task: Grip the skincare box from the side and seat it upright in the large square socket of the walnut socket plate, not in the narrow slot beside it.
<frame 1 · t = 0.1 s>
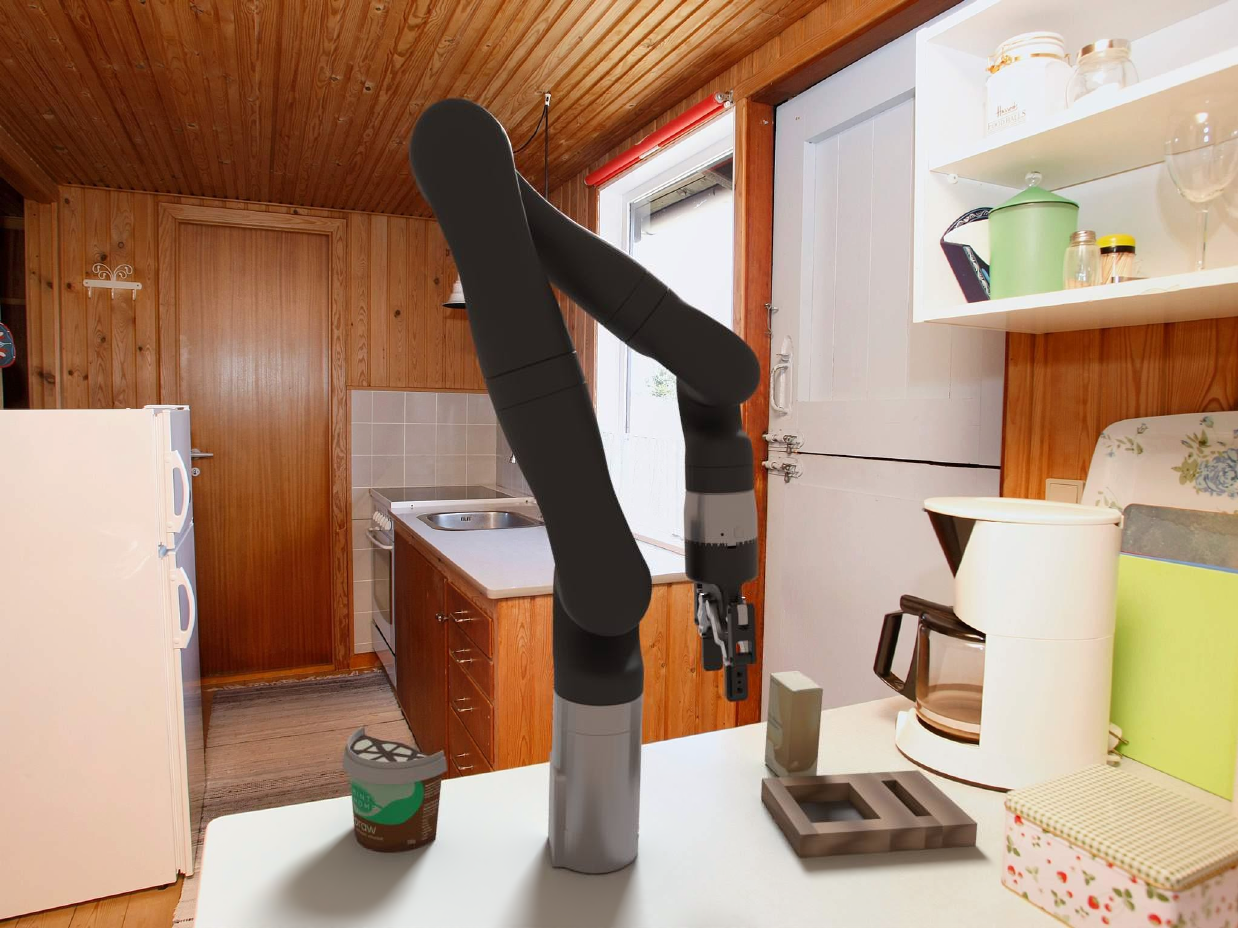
hand: (724, 684, 84), 17 cm above the countertop, tool pointing down, fingers open, 8 cm apart
food container: (381, 841, 84), on the countertop
socket plate: (863, 820, 90), on the countertop
skincare box: (790, 773, 101), on the countertop
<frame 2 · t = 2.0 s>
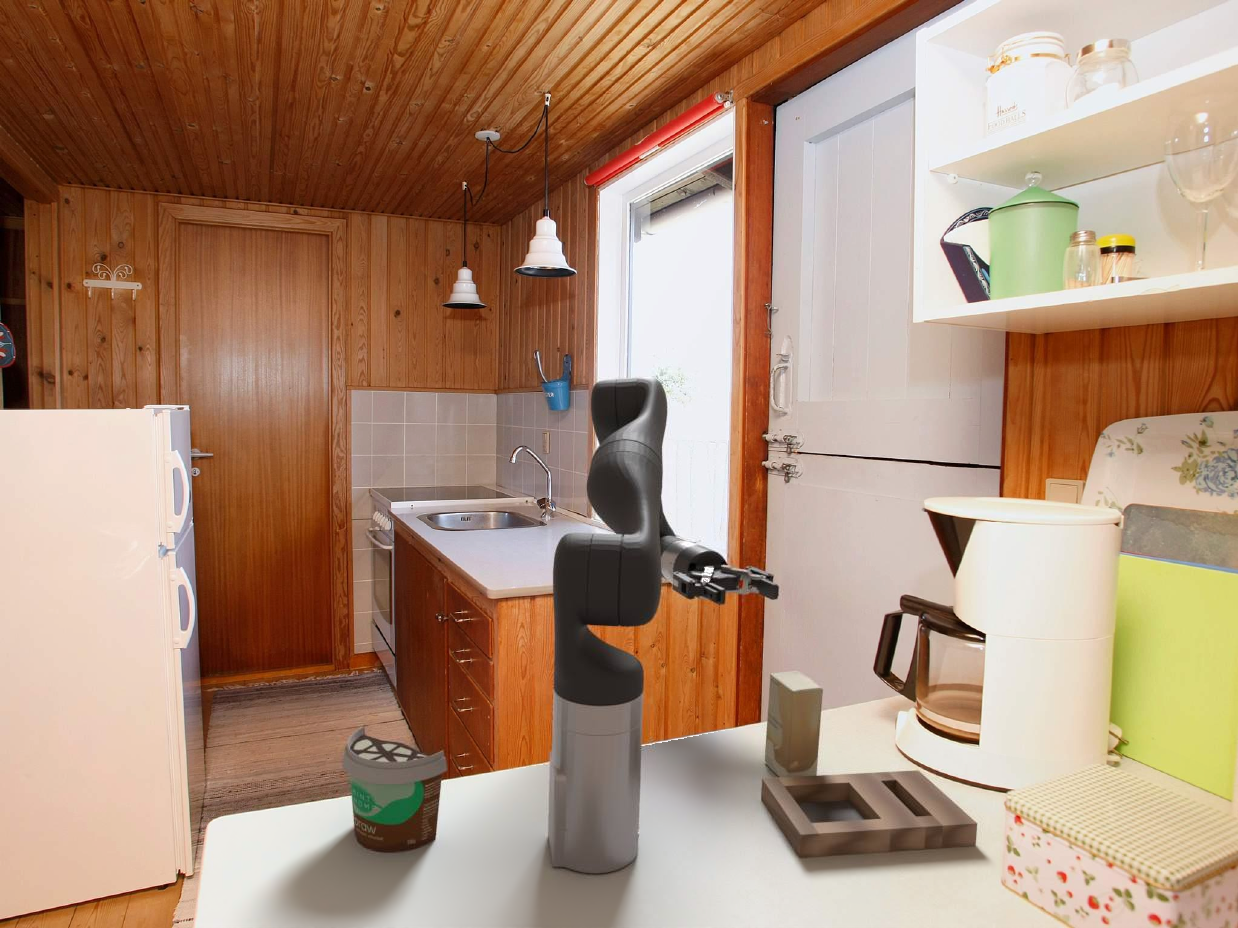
hand: (750, 595, 109), 20 cm above the countertop, tool horizontal, fingers open, 8 cm apart
nothing on the countertop moved.
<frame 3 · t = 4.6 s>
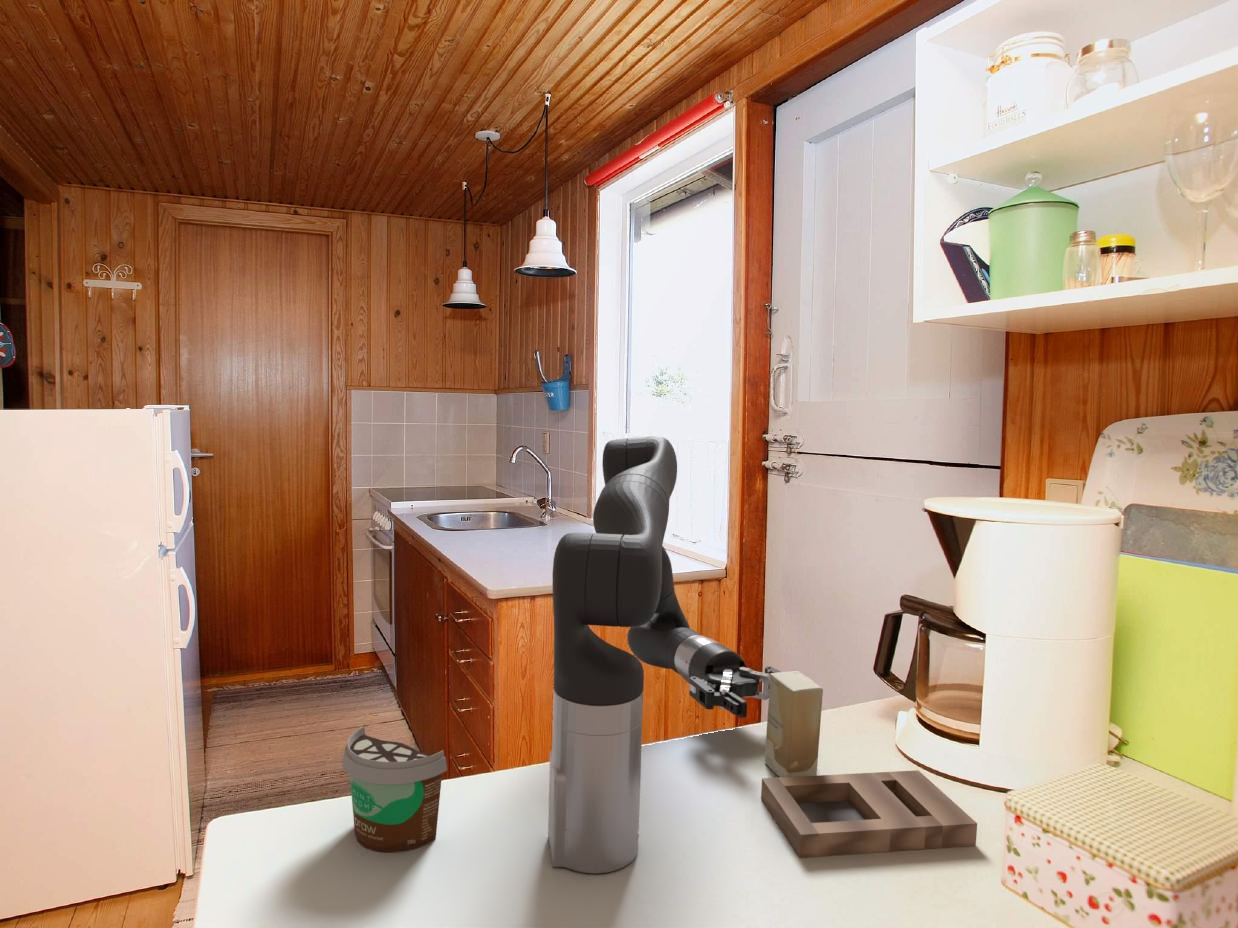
hand: (772, 706, 105), 7 cm above the countertop, tool horizontal, fingers open, 8 cm apart
nothing on the countertop moved.
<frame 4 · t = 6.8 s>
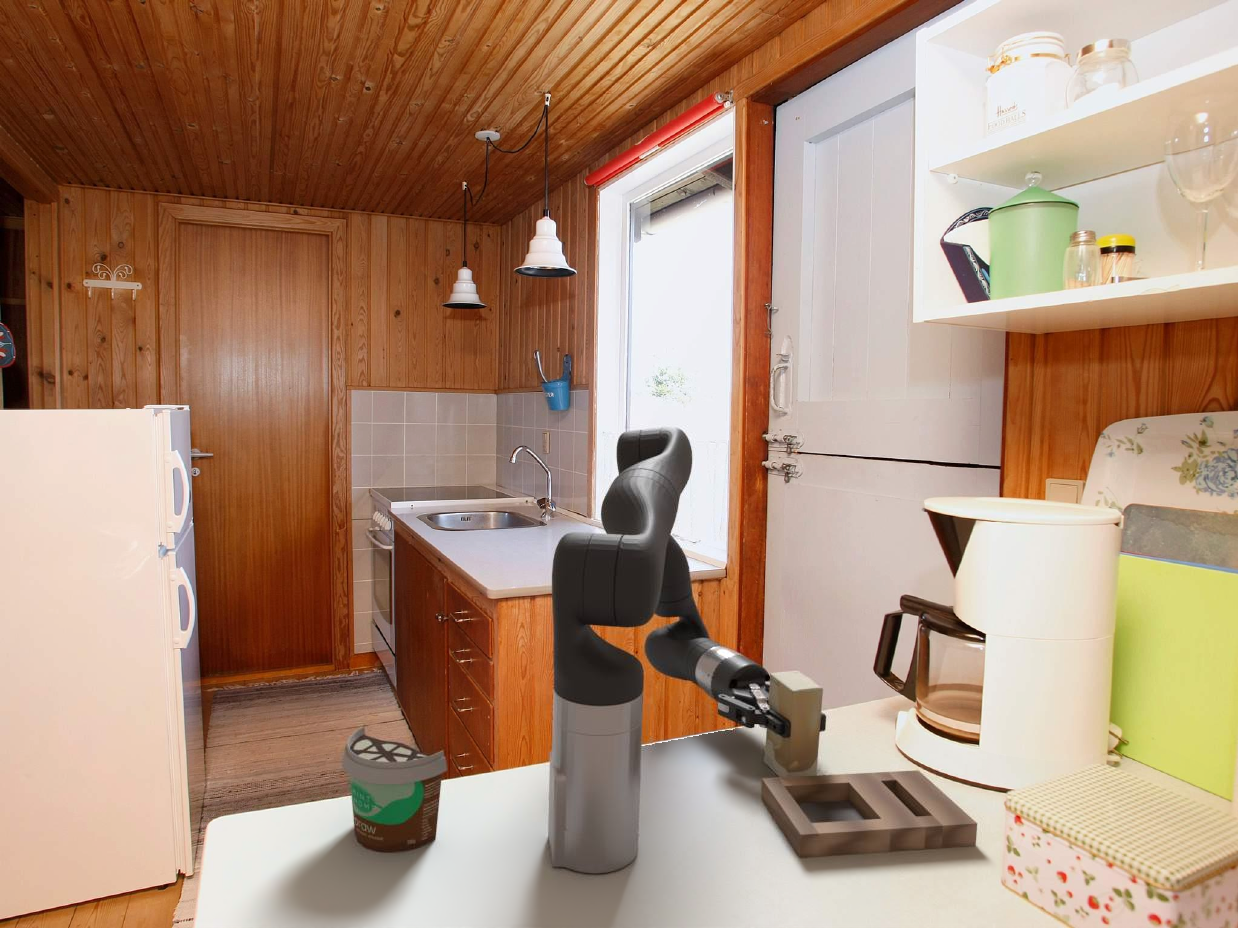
hand: (806, 726, 98), 7 cm above the countertop, tool horizontal, fingers closed on skincare box, 4 cm apart
skincare box: (790, 773, 101), on the countertop, touching gripper
everything else where it was.
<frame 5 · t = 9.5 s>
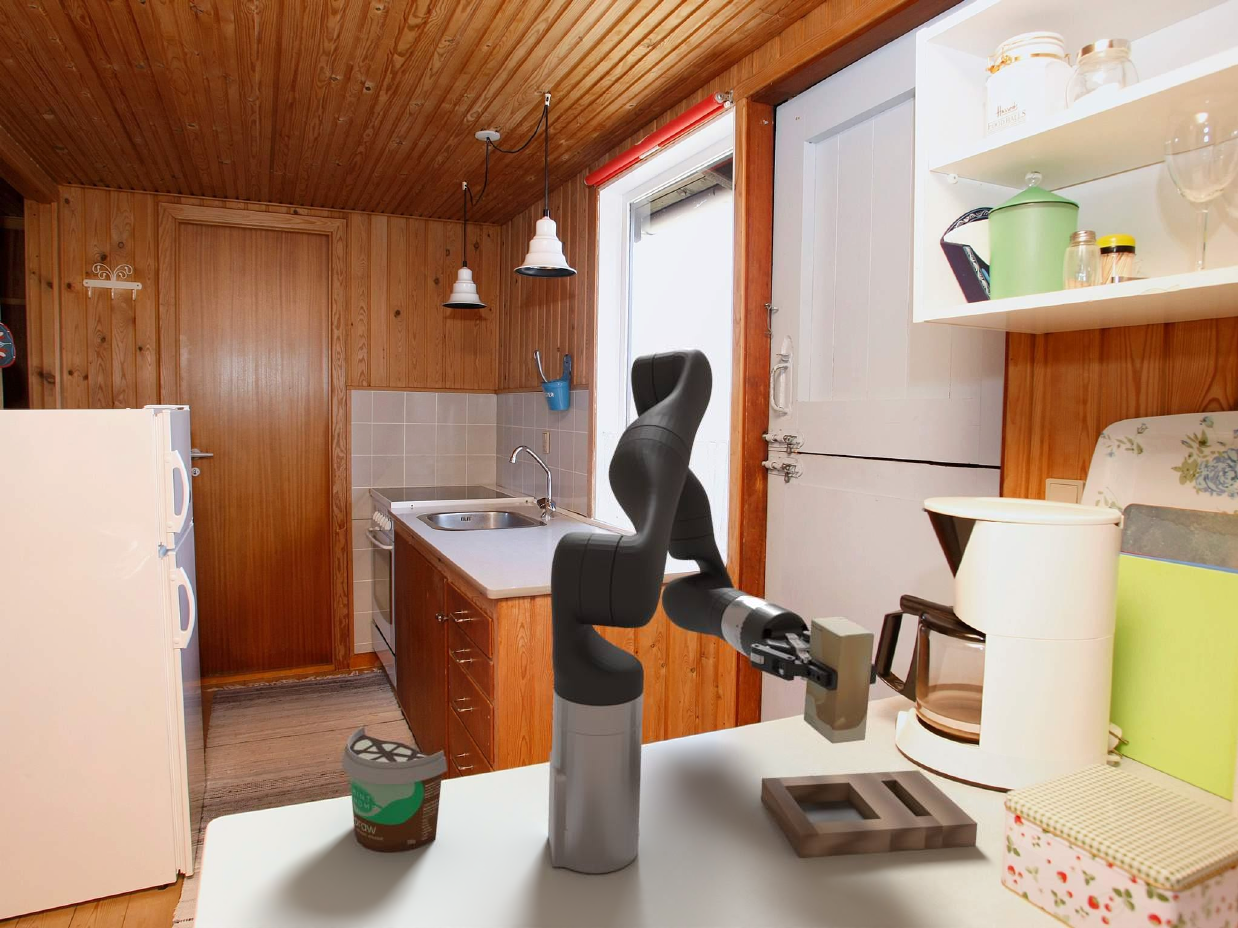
hand: (854, 678, 86), 18 cm above the countertop, tool horizontal, fingers closed on skincare box, 4 cm apart
skincare box: (834, 732, 89), point 10 cm above the countertop, touching gripper
everything else where it was.
when the fingers open (8 cm above the countertop, at t = 12.4 s): skincare box drops 1 cm, resting on socket plate.
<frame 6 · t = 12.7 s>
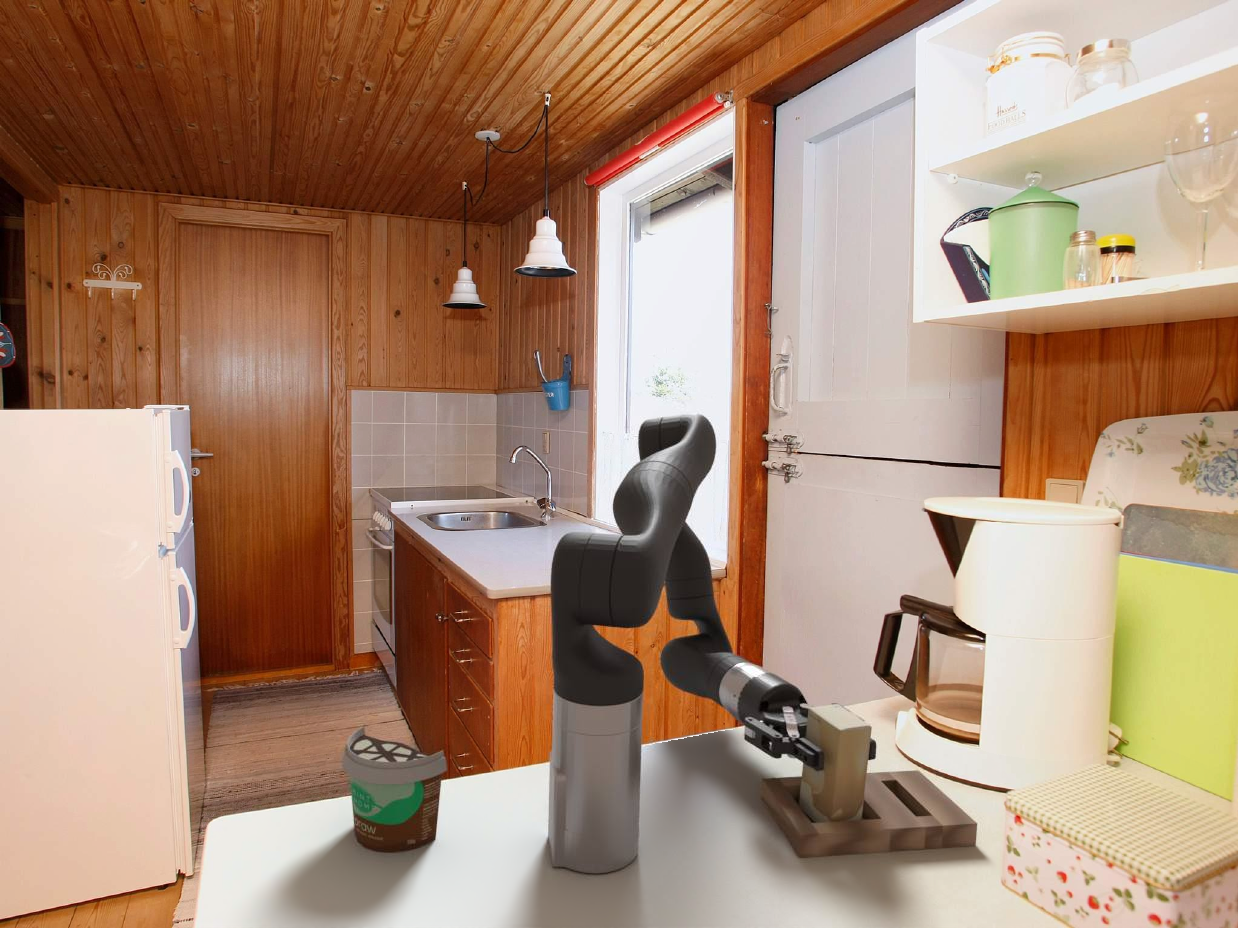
hand: (848, 756, 87), 9 cm above the countertop, tool horizontal, fingers open, 6 cm apart
skincare box: (829, 821, 90), resting on socket plate
everything else where it was.
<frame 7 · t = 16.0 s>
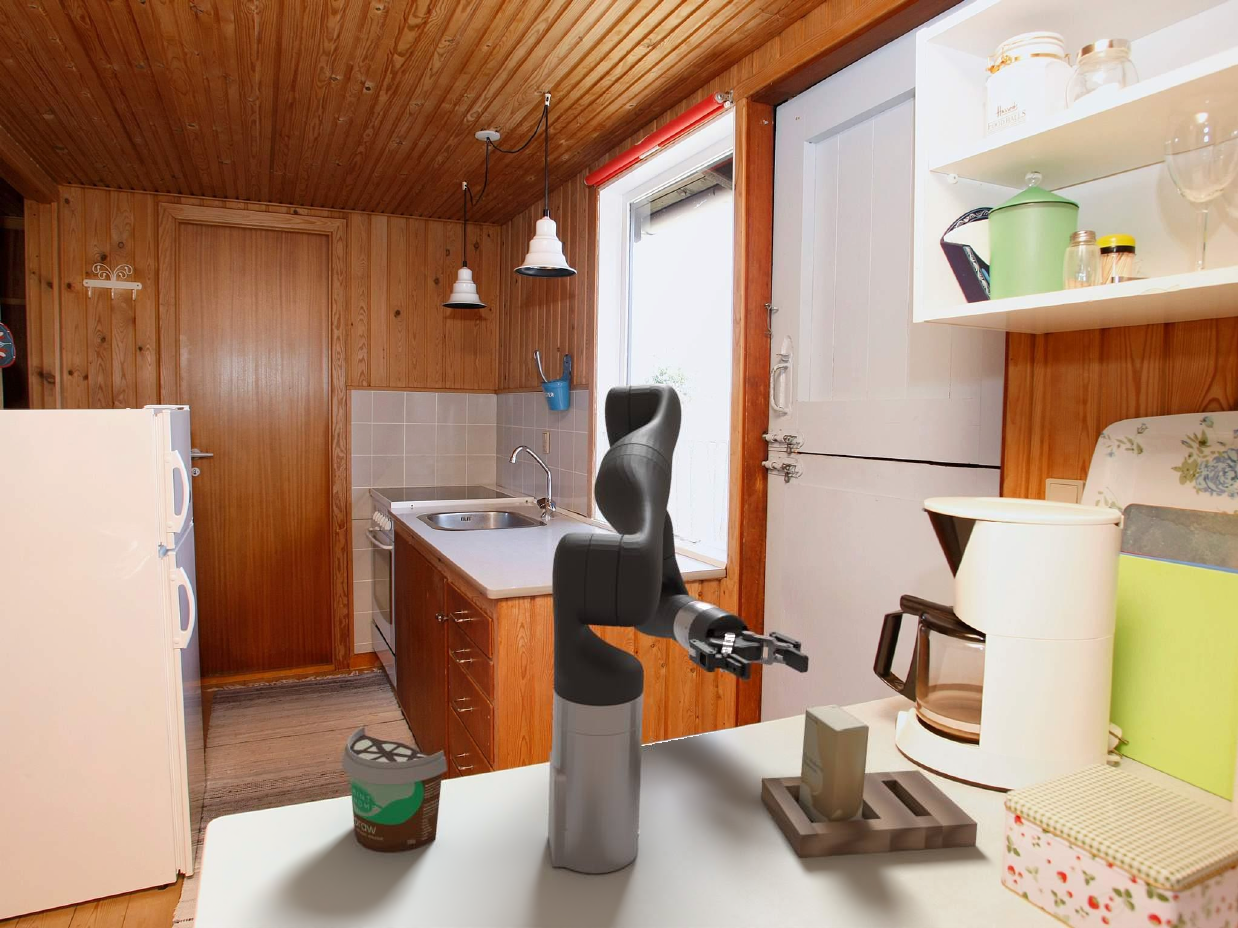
hand: (777, 668, 98), 14 cm above the countertop, tool horizontal, fingers open, 8 cm apart
nothing on the countertop moved.
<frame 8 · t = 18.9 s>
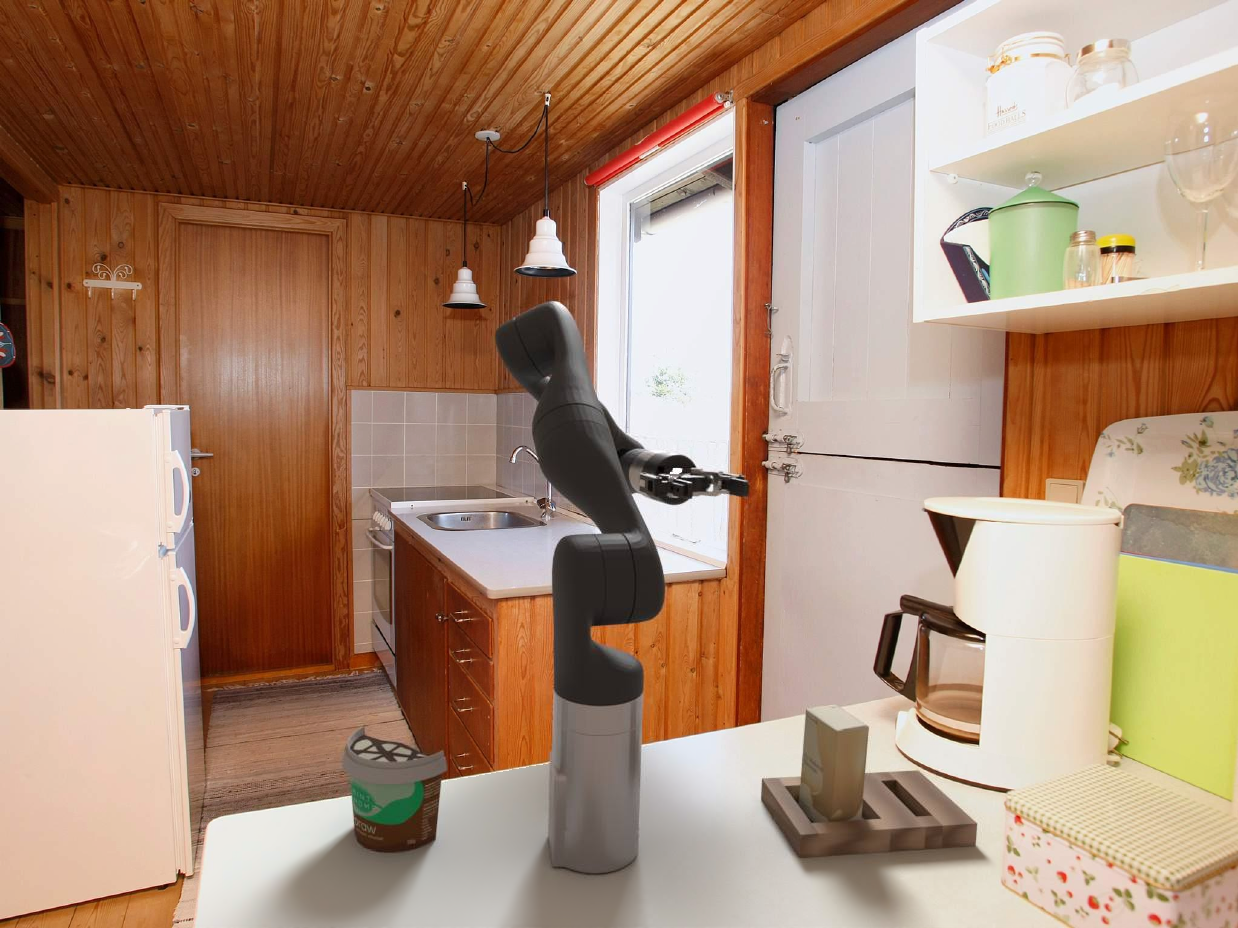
hand: (719, 490, 105), 35 cm above the countertop, tool horizontal, fingers open, 8 cm apart
nothing on the countertop moved.
at the end: skincare box 0.1 cm from the target spot on the socket plate, point 0.1 cm above the socket plate's base; skincare box tilted 0°; the gripper is holding nothing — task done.
